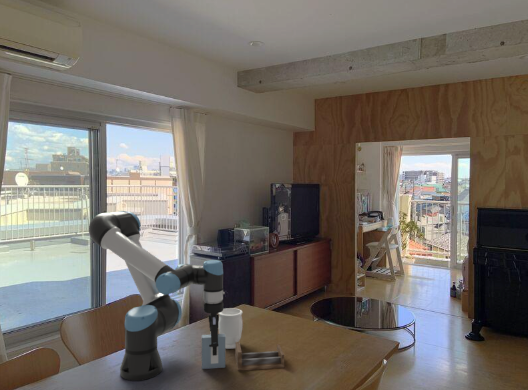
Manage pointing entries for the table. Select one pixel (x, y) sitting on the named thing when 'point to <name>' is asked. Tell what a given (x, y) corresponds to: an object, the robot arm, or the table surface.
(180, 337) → the table surface
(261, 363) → the wooden rod frame
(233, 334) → the jar
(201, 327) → the table surface
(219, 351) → the blue-gray rectangular block
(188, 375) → the table surface
